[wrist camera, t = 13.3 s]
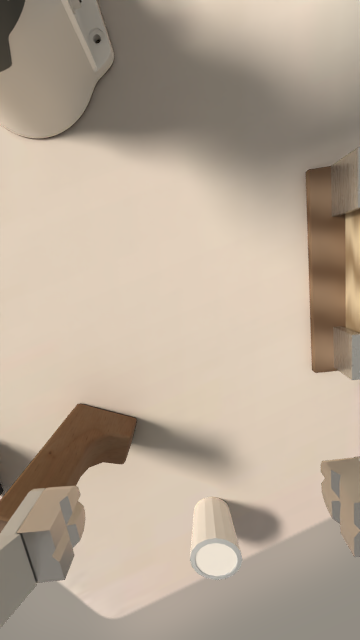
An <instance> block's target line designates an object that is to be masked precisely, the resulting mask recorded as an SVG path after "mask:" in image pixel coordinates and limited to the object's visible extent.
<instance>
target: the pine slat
mask: <svg viewBox="0 0 360 640" xmlns="http://www.w3.org/2000/svg"><path fill="white" fill-rule="evenodd" d="M345 259H346V328H347V329H350V330H352V331H355V332H357V333H360V209H359V210H356V211H353V212H350V213H347V214H345Z"/></svg>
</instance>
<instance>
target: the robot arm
mask: <svg viewBox="0 0 360 640" xmlns="http://www.w3.org/2000/svg"><path fill="white" fill-rule="evenodd" d="M97 40H101V41H100V43H96V41H97ZM113 60H114V52H113V48H112V45H111V42H110V39H109V36H108V33H107V30H106V27H105V23H104V20H103V17H102V14H101V11H100V8H99V5H98V2H97V0H0V125H2V126H3V127H4V128H6V129H7V130H9V131H11V132H13V133H15V134H18V135H20V136H24V137H28V138H47V137H51V136H54V135H57V134H59V133H61V132H63V131H65V130H67V129H68V128H69V127H71V126H72V125H73V124H74V123H75V122H76V121H77V120H78V119H79V118H80V116H81V115H82V114H83V112H84V111H85V109H86V107H87V105H88V103H89V101H90V98H91V95H92V93H93V90H94V87H95V85H96V83H97V81H98V80H99V79H100V78H101V77H102V76H103V75H104V74H105V73H106V72H107V70H108V69H109V68H110V66H111V65H112V63H113ZM321 473H322V474H323V476H324V477H325V479H324V480H323V482H322V483H321V486H322V494H323V498H324V502H325V505H326V507H327V509H328V511H329V513H330V515H331V517H332V518H333V519H334V520H335V521H337V522H338V523H340V530H341V535H342V536H343V538H344V540H345V542H346V543H347V545H348V547H349V549H350V550H351V552H352V554H353V556H354V557H360V457H354V458H344V459H335V460H326V461H322V462H321ZM79 497H80V492H79V488H78V487H77V486H63V487H49V488H40V489H33V490H31V491H30V492H29V493H28V494H27V496H26V497H25V498H24V500H23V501H22V503H21V504H20V506H19V507H18V508H17V510H16V511H15V513H14V514H13V516H12V517H11V519H10V520H9V521H8V523H7V524H6V526H5V527H4V529H3V530H2V531H1V533H0V628H1V627H2V626H3V624H4V623H5V622H6V621H7V620H8V619H9V617H10V616H11V615H12V614H13V613H14V611H15V610H16V609H17V608H18V607H19V606H20V604H21V603H22V602H23V601H24V600H25V598H26V597H27V596H28V595H29V594H30V593H31V591H32V590H33V589H34V588H35V587H36V585H37V584H36V583H42V582H50V581H59V580H65V578H66V575H67V573H68V570H69V568H70V565H71V563H72V560H73V557H74V552H73V547H74V546H75V545H76V544H77V543H78V542H79V541H80V539H81V537H82V534H83V531H84V525H85V510H84V506H83V505H82V504H81V503H80V502H78V499H79Z"/></svg>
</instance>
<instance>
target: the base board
mask: <svg viewBox="0 0 360 640" xmlns="http://www.w3.org/2000/svg"><path fill="white" fill-rule="evenodd" d="M306 192H307V224H308V256H309V288H310V320H311V352H312V370H313V371H314V372H315V373H318V372H328V371H337V369H336V368H334V340H333V327H338V326H342V327H345V328H346V259H345V214H343V215H340V216H333V217H332V200H331V166H329V167H322V168H316V169H309V170H308V171H307V172H306Z"/></svg>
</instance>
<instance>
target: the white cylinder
mask: <svg viewBox="0 0 360 640" xmlns="http://www.w3.org/2000/svg"><path fill="white" fill-rule="evenodd" d="M190 561H191V565H192V567H193V569H194V570H195V571H196V572H197V573H198V574H199V575H201V576H203V577H205V578H208V579H214V580H219V579H226V578H228V577H230V576H232V575H234V574H235V573H236V572H237V571H238V570H239V569H240V567H241V563H242V556H241V551H240V548H239V544H238V540H237V536H236V532H235V529H234V525H233V521H232V517H231V514H230V510H229V506H228V505H227V504H226V502H225V501H223V500H221V499H220V498H216V497H208V498H204V499H202V500H200V501H199V502H198V503H197V504H196V506H195V509H194V516H193V528H192V540H191V553H190Z"/></svg>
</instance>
